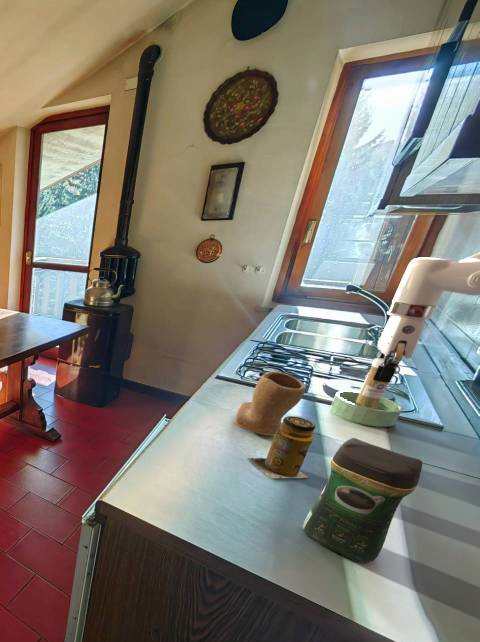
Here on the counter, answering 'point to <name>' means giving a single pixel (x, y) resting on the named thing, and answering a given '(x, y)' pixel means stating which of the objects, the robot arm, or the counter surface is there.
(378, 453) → the coffee jar
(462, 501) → the counter surface
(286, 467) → the condiment
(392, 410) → the bowl
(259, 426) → the brown boot planter
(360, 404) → the sprinkles bottle
